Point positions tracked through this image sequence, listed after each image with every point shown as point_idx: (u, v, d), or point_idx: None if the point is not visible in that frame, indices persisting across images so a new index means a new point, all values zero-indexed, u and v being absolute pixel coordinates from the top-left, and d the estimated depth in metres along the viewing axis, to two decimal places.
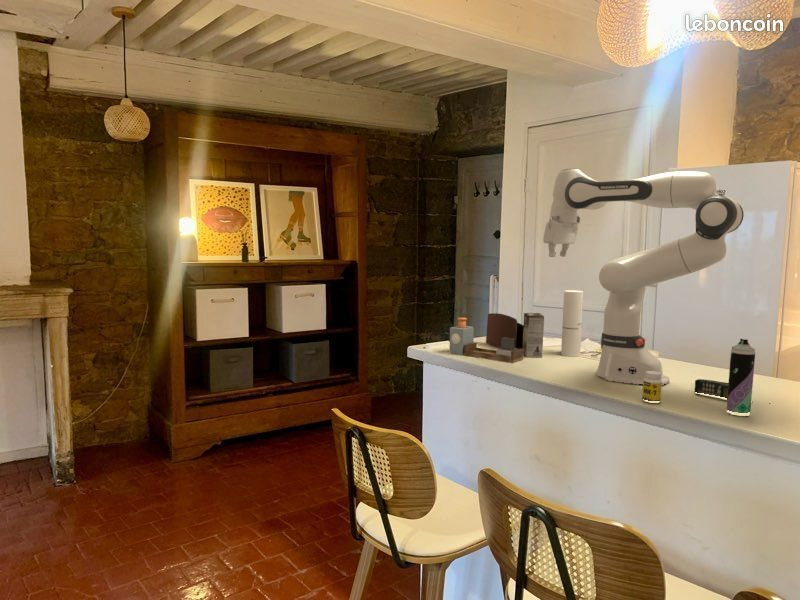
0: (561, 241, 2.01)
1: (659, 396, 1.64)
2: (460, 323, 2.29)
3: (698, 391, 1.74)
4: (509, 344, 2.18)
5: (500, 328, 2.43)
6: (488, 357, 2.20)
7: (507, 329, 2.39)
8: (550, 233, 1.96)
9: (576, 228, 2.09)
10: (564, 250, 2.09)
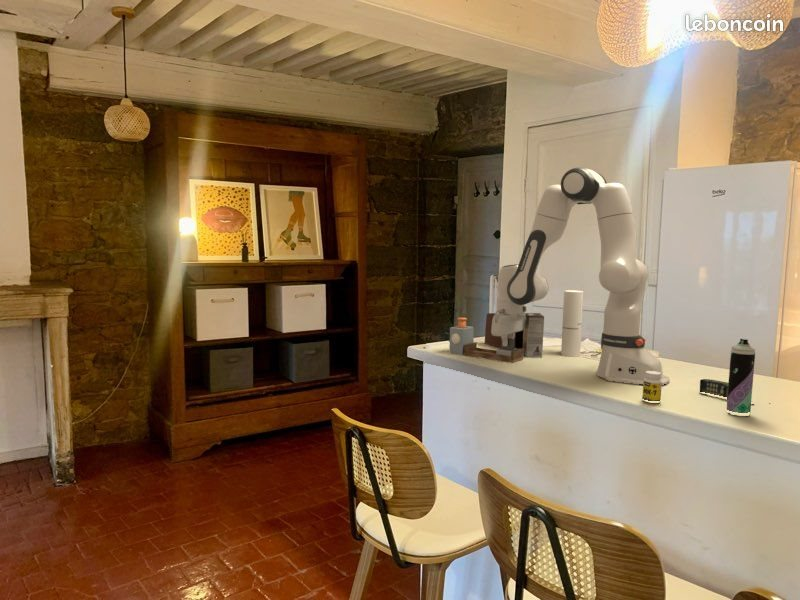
0: (508, 331, 2.15)
1: (659, 396, 1.64)
2: (460, 323, 2.29)
3: (702, 391, 1.74)
4: (509, 344, 2.18)
5: None
6: (488, 357, 2.20)
7: None
8: (496, 326, 2.10)
9: (523, 316, 2.23)
10: None
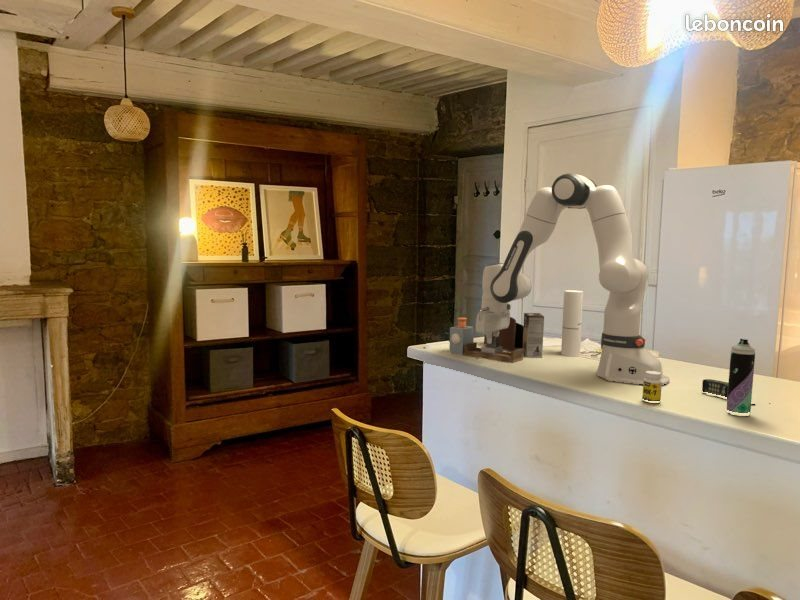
0: (492, 329, 2.19)
1: (659, 396, 1.64)
2: (460, 323, 2.29)
3: (705, 391, 1.75)
4: (493, 342, 2.22)
5: None
6: (488, 357, 2.20)
7: (506, 329, 2.39)
8: (480, 324, 2.14)
9: (508, 314, 2.27)
10: None
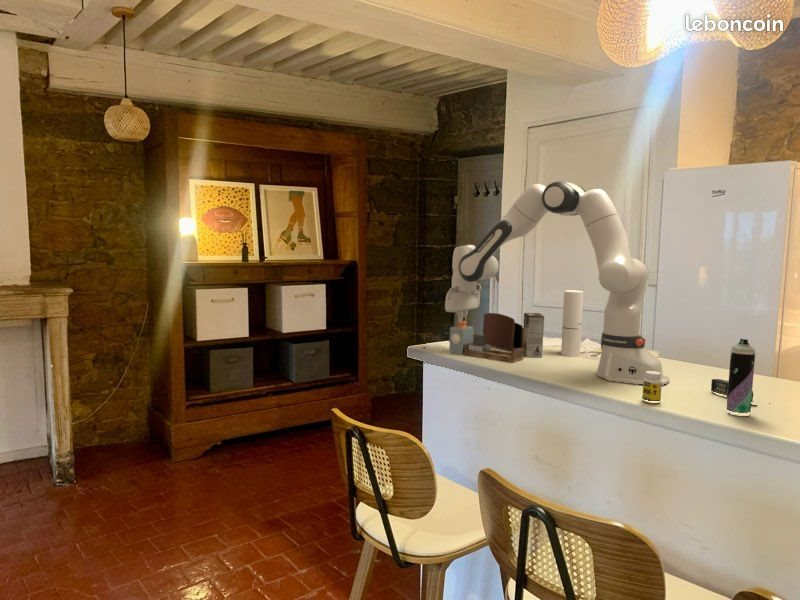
0: (462, 308, 2.26)
1: (659, 396, 1.64)
2: (460, 327, 2.30)
3: (713, 390, 1.75)
4: (481, 340, 2.25)
5: (496, 328, 2.44)
6: (488, 357, 2.20)
7: (504, 329, 2.39)
8: (449, 303, 2.22)
9: (478, 294, 2.34)
10: (463, 315, 2.31)
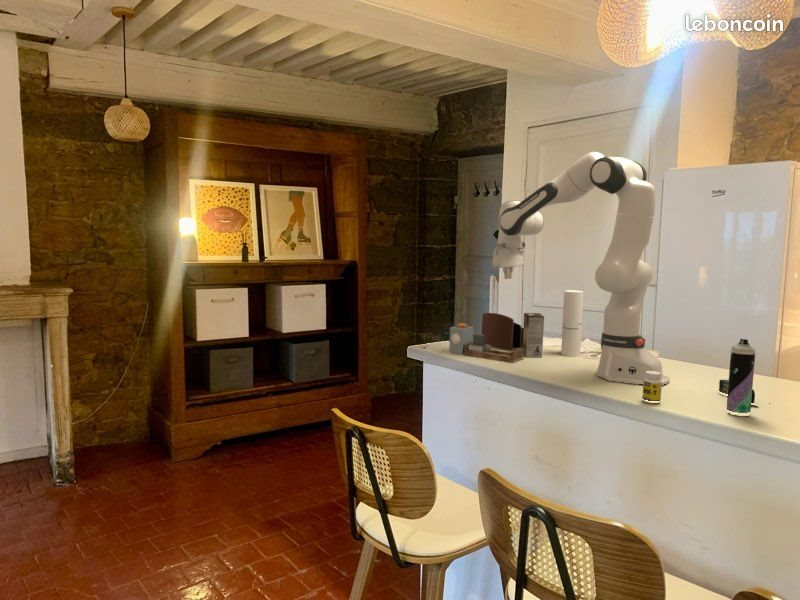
0: (509, 264, 2.27)
1: (659, 396, 1.64)
2: None
3: (720, 391, 1.75)
4: (481, 340, 2.25)
5: (495, 328, 2.44)
6: (488, 357, 2.20)
7: (503, 329, 2.40)
8: (497, 258, 2.22)
9: (523, 252, 2.35)
10: (509, 273, 2.32)
